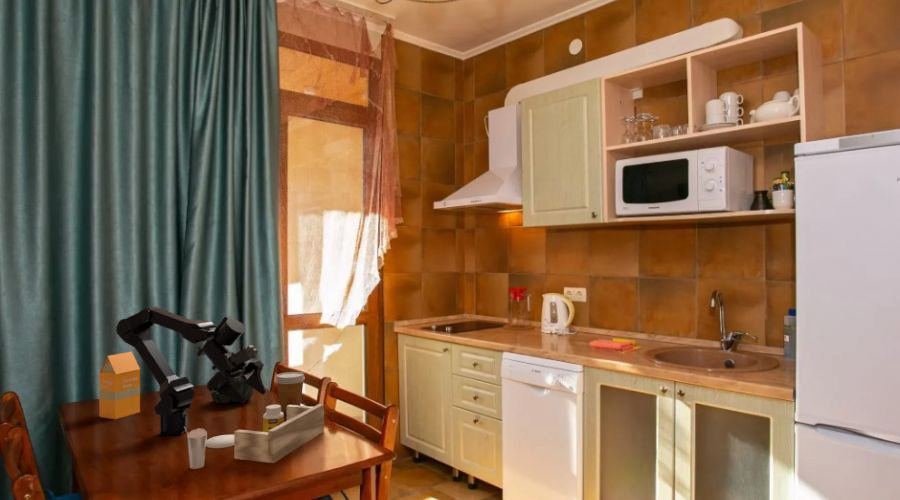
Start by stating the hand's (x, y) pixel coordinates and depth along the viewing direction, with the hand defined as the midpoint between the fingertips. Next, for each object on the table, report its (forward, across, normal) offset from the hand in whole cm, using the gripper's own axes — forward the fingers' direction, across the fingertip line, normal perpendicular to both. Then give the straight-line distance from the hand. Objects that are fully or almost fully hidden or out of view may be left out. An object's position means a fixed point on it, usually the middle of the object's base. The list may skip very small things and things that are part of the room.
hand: (254, 397), depth 155 cm
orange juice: (-33, +10, +50) cm, 61 cm away
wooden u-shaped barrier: (+15, 0, +2) cm, 15 cm away
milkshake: (+7, -20, +11) cm, 24 cm away
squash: (-15, +34, +32) cm, 49 cm away
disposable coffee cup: (+4, +29, +14) cm, 32 cm away
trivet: (+3, -3, +14) cm, 15 cm away
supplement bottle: (+13, 0, +5) cm, 14 cm away
